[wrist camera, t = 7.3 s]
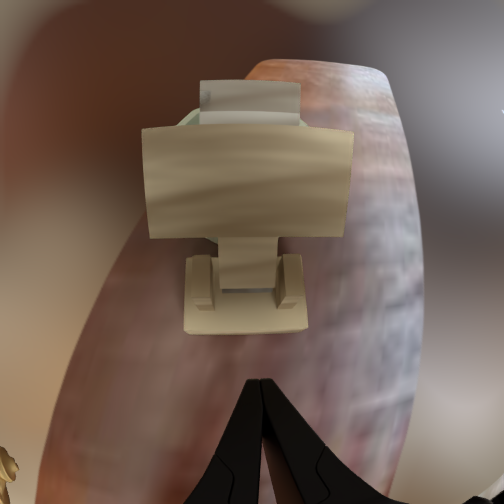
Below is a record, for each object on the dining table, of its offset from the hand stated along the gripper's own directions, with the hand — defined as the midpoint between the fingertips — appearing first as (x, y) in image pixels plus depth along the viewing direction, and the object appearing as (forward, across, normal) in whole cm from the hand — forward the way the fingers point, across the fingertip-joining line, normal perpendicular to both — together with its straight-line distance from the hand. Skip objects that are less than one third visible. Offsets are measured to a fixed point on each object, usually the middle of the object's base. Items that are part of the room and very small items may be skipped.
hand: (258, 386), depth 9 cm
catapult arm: (+10, 0, 0) cm, 10 cm away
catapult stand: (+11, 0, +3) cm, 12 cm away
